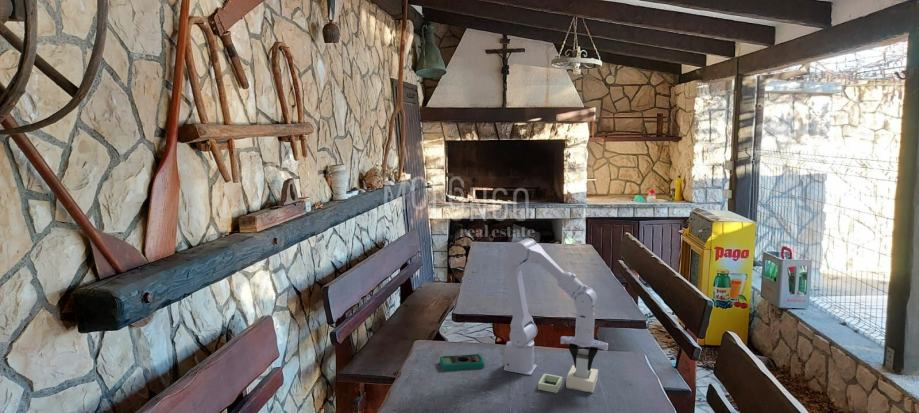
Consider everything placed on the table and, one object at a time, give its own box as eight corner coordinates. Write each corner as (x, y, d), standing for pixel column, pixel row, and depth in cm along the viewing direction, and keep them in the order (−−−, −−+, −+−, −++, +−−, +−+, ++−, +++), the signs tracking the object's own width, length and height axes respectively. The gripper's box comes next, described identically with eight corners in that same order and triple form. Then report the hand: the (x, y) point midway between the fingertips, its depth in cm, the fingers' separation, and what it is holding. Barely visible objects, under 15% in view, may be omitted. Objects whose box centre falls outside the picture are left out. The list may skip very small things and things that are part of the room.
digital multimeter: (485, 369, 191) (486, 361, 190) (442, 372, 188) (442, 364, 187) (481, 360, 198) (481, 352, 197) (439, 363, 195) (439, 355, 195)
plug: (575, 379, 178) (576, 355, 177) (578, 373, 182) (579, 349, 181) (586, 381, 177) (587, 357, 175) (589, 374, 181) (590, 351, 180)
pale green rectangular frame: (537, 389, 176) (538, 383, 176) (543, 379, 183) (543, 373, 183) (557, 392, 174) (557, 386, 173) (562, 382, 181) (562, 376, 180)
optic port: (566, 387, 177) (566, 376, 176) (572, 375, 186) (572, 364, 185) (592, 393, 174) (593, 381, 173) (597, 379, 183) (598, 368, 182)
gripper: (559, 327, 176) (557, 369, 178) (606, 334, 171) (604, 377, 173) (563, 320, 183) (562, 360, 185) (609, 327, 177) (607, 368, 179)
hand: (582, 368), depth 179 cm, fingers closed on plug, 3 cm apart
